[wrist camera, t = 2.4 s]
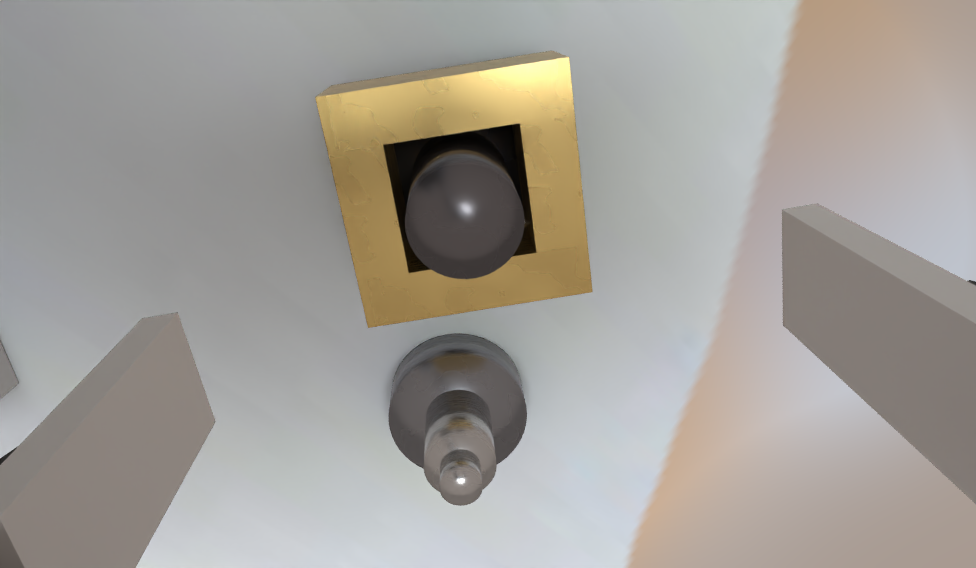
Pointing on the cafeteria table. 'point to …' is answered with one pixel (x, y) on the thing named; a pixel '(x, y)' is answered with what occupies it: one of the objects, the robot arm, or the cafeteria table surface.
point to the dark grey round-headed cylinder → (462, 200)
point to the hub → (457, 412)
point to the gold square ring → (448, 110)
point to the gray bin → (6, 374)
